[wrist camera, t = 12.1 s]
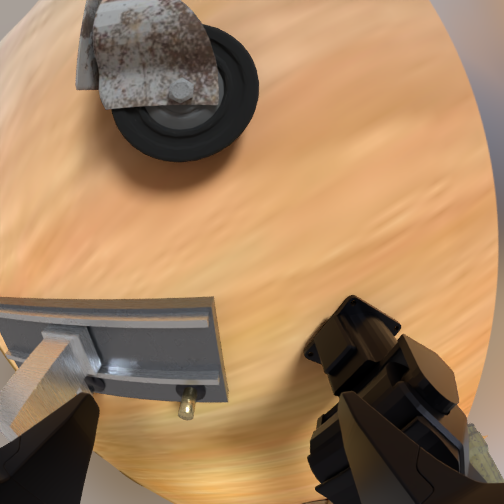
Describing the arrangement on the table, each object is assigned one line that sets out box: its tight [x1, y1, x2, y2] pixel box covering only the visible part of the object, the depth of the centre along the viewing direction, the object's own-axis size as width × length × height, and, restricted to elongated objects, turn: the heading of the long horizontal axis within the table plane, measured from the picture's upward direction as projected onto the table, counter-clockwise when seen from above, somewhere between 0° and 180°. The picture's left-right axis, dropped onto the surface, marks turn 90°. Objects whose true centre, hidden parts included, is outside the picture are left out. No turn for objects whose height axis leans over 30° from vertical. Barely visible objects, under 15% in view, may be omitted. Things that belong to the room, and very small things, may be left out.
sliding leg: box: [0, 324, 102, 442], centre depth 15 cm, size 4×7×11 cm, turn 4°
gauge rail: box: [0, 297, 229, 420], centre depth 20 cm, size 26×10×4 cm, turn 94°
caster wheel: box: [76, 0, 259, 162], centre depth 13 cm, size 7×11×10 cm
